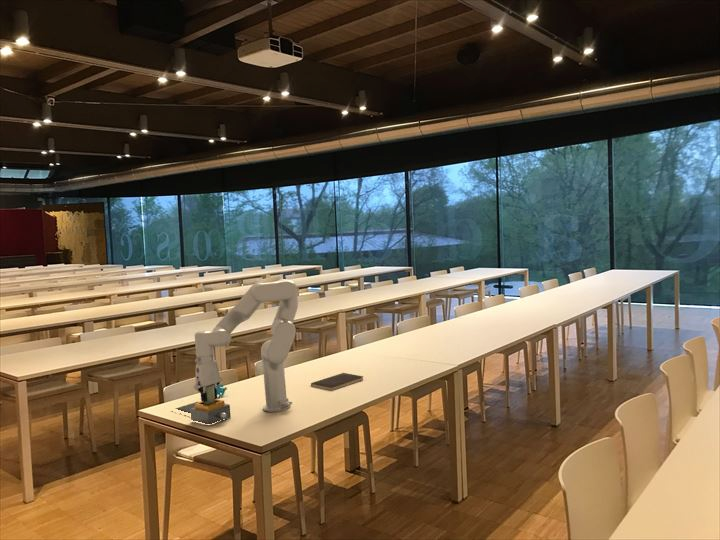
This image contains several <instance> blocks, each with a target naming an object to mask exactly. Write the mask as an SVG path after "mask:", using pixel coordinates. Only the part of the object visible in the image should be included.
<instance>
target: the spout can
mask: <svg viewBox="0 0 720 540" xmlns="http://www.w3.org/2000/svg"><path fill="white" fill-rule="evenodd" d="M202 389H203V387H202ZM205 393H207V402H204V405H208V406H209V405H211V404H214V403H215V392H214V384H212V385H209V386H206V390H205Z"/></svg>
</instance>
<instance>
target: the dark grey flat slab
mask: <svg viewBox="0 0 720 540" xmlns="http://www.w3.org/2000/svg"><path fill="white" fill-rule="evenodd" d="M199 402H200V401H199ZM199 402H198V401H196V402H195V401H194V402H192V403H188V404H186V405H181V406H179V407H176V408H175V409H178V410H181V411H184V412H188V413H191V412H190V409H192V408H194V407H195V404H196V403H199Z"/></svg>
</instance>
